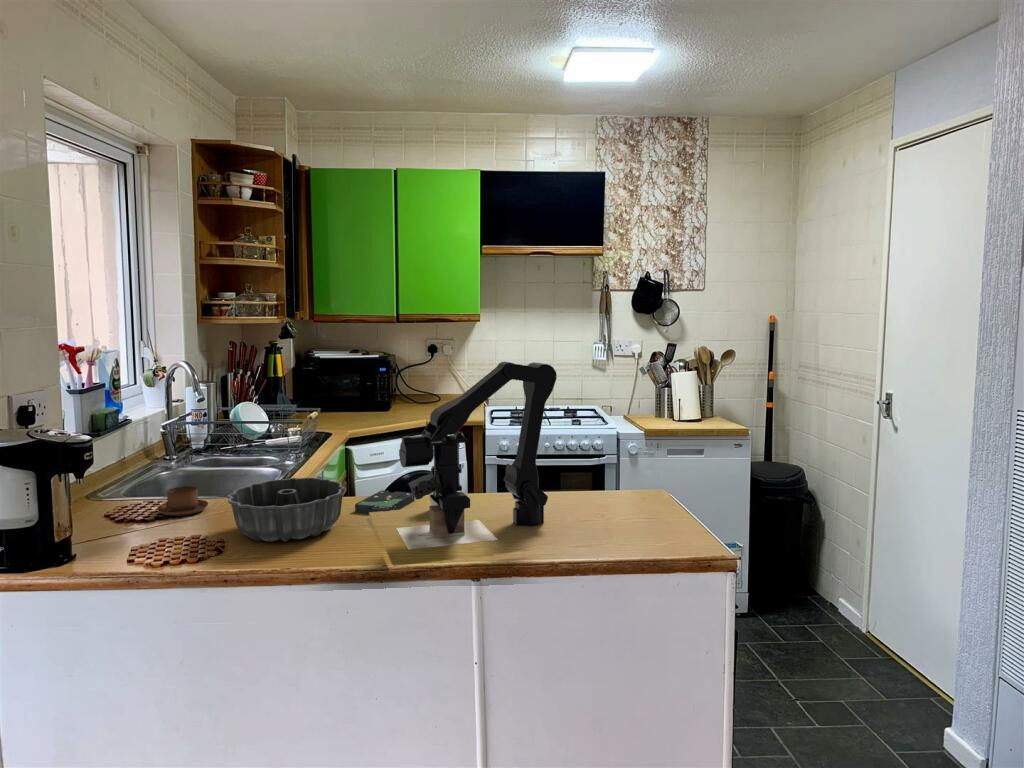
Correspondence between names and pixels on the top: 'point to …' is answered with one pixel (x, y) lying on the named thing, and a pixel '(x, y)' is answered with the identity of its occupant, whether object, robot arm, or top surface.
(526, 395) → the robot arm
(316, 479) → the bundt pan
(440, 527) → the block
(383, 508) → the disk drive
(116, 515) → the top surface
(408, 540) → the birch board
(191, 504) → the cup and saucer
